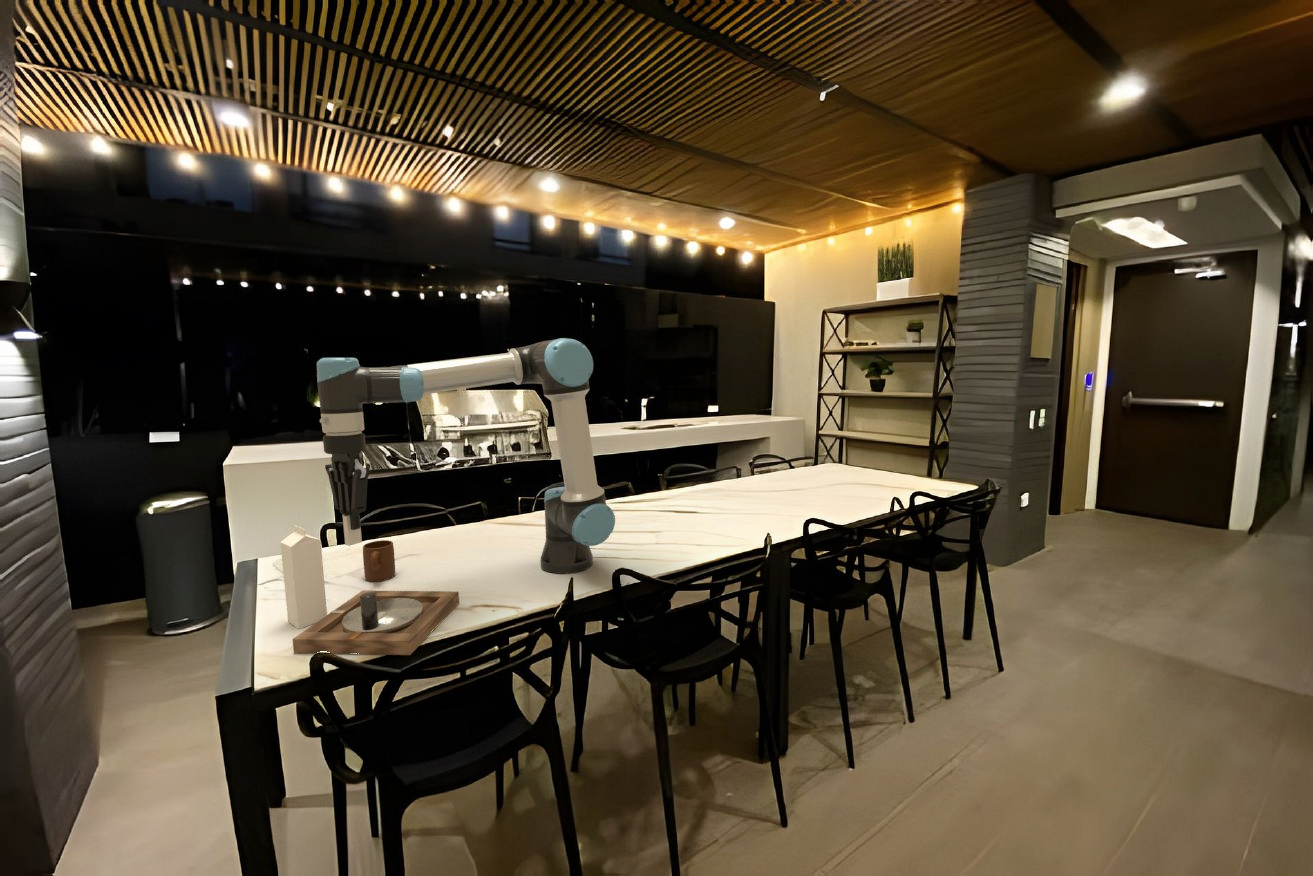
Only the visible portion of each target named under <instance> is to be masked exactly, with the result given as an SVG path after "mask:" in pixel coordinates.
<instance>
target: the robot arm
mask: <svg viewBox="0 0 1313 876" xmlns="http://www.w3.org/2000/svg"><path fill="white" fill-rule="evenodd" d="M359 362H360V361H359V360H358V358H356V357H322V358H320V359H319V360H317V362H316V371H317V372H316V378H317V380H316V381H317V382H316V383H317V390H318V400H319V402H318V403H319V409H320V411H319V412H320V417H321V418H320V419H319V423H320V424H321V427H322V428H321V429H322V433H324V435H323V437H322V444H323V451H324V453H325V454H327V455H331V459H330V461H331V462H330V463H329V464H328V463H327V464H325V466H324V469H325V471H326V473H327V476H328V480H329V484H330V490H331V494H332V498H333V504H334V508H335V510H337V511H338V510H339V512H340V514H342V522H343V523H342V524H343V534H344V535H343V536H344V544H345V546H348V547H349V546H354V545H357V544H360V543H363V540H362V539H363V538H362V528H361V517H360V516H361V515H360V514H361V513H362V512H366V510H367V502H368V501H367V500H368V499H367V498H368V482H369V481H368V479H369V475H370V472H371V470H370V467H364V466H363V465H362V463H363V462H362V458H361V455H360V453H361V452H364V451H365V450H366V448H367V444H366V434H364V432H363V431H364V430H365V421H364V412H363V404H374V403H379V404H380V403H381V404H382V403H388V404H389V403H410V402H419V401H422V399H423V397H424V395H430V394H434V393H435V394H436V393H442V392H443V393H444V392H449V391H450V392H451V391H457V390H464V389H471V388H477V387H485V386H492V385H498V384H499V385H500V384H507V383H512V382H513V383H514V384H515V385H516V386H517V385H518V386H519V385H526V384H539V385H542V389H543V390H542V391H543V396H544V397H545V398H546V399H548V400H550V402H551V407H552V414H553V420H554V421H553V422H554V427H555V433H556V439H557V445H558V446H557V447H558V453H559V458H560V459H559V460H560V464H561V466H560V467H561V471H562V476H563V483H564V485H563V486H558V487H553V488H549V489H547V490H546V491H545V492H544V500H543V503H544V521H545V525H544V527H545V542H544V545H543V549H542V551H541V555H540V567H541V569H542V570H543V571H545V572H548V573H553V574H573V573H579V572H582V571H585V570H587V569H589V568H590V567H591V566H593V564H594V561H593V560H594V557H593V553H592V550H591V547H594V546H599V545H600V544H603V543H604V542H606V540H608V539H609V537H610V536H611V534H612V533H613V531H614V529H615V525H616V515H615V513H614V511H613V510H612V508H611V507H610V506H609V505H607V501H606V495H605V489H604V488H603V487H601V486H600V485H598V480H597V473H596V465H595V458H594V452H593V446H592V439H591V438H592V437H591V432H590V430H591V429H590V425H589V418H588V412H587V410H588V409H587V404H586V399H585V398H586V395H587V394H588V393H589V391H590V384H589V383H590V382H589V379H590V377H591V376H592V374H593V371H594V360H593V356H592V354H591V352H590V350H589V349H588V348H587V346H586V345H585V344H584V343H582V342H581V341H578V340H576V339H573V338H567V337H565V338H564V337H563V338H562V337H561V338H557V339H552V340H551V339H550V340H543V341H540V342H536V343H533V344H530V345H526V346H522V347H521V346H520V347H515V348H510V349H509V350H508V352H505V353H499V354H498V353H497V354H489V355H479V356H471V357H470V356H469V357H463V358H462V357H461V358H455V359H444V360H438V361H436V360H435V361H429V362H421V363H412V364H411V363H410V364H406V365H405V364H404V365H395V366H389V367H388V366H381V367H379V366H378V367H368V366H367V367H364V366H361V365H360V363H359Z"/></svg>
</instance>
